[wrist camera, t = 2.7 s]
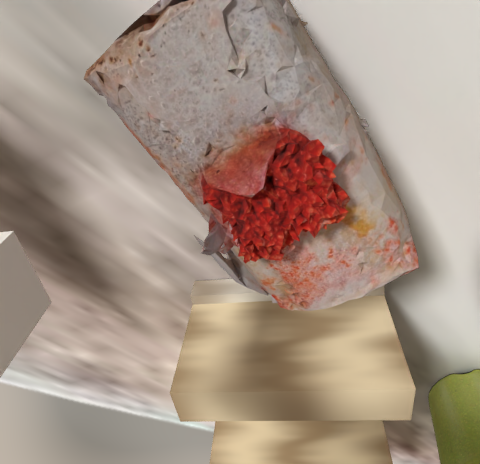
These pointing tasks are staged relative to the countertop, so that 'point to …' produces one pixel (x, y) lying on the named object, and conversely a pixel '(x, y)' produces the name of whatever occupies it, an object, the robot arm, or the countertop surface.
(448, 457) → the plant pot
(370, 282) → the food item
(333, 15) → the countertop surface
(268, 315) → the stand
